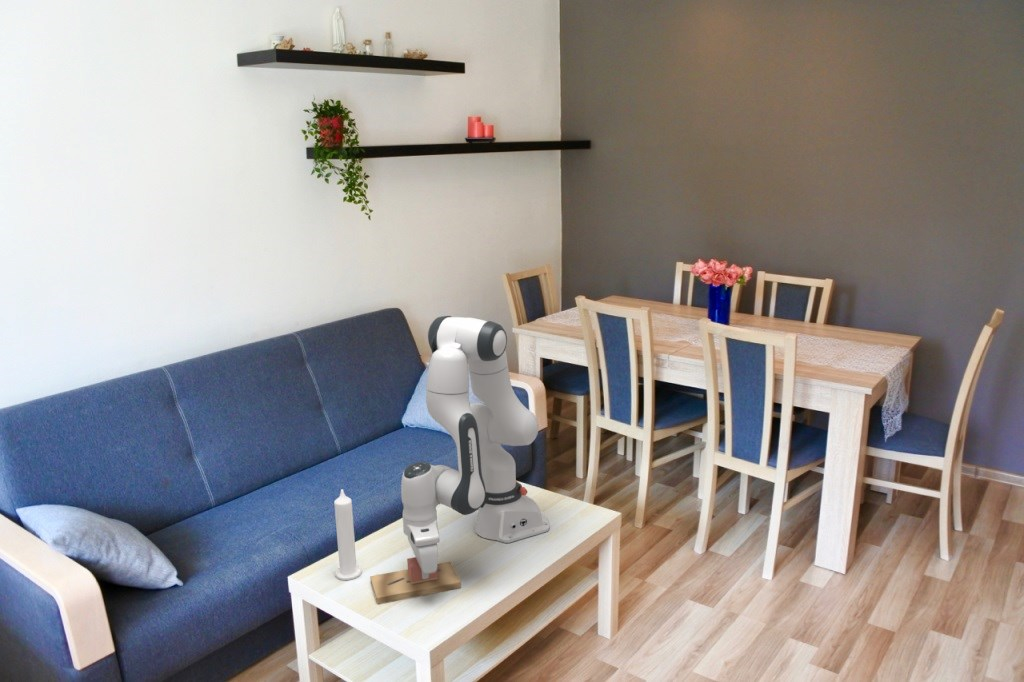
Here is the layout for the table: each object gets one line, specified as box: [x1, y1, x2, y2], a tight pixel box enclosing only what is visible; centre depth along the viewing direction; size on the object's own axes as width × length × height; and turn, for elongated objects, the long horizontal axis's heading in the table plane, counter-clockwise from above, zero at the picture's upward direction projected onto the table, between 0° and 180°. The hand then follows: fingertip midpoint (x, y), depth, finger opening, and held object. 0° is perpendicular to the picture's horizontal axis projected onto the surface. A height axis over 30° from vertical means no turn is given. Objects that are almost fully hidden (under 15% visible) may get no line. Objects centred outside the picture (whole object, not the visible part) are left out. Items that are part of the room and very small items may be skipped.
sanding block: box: [406, 556, 438, 584], centre depth 214 cm, size 7×4×5 cm, turn 109°
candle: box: [333, 488, 363, 581], centre depth 218 cm, size 7×7×25 cm
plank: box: [369, 561, 462, 605], centre depth 215 cm, size 22×11×2 cm, turn 108°
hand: (422, 571), depth 215 cm, fingers closed on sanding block, 4 cm apart
